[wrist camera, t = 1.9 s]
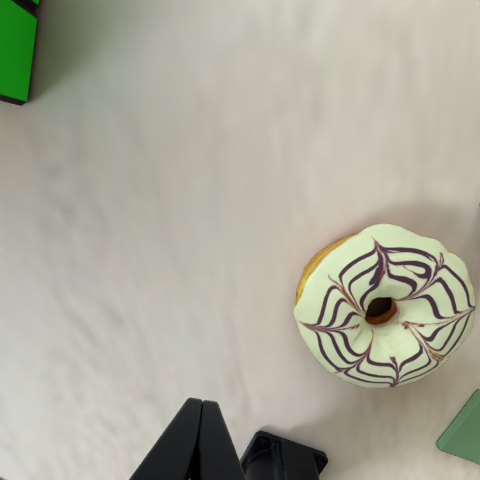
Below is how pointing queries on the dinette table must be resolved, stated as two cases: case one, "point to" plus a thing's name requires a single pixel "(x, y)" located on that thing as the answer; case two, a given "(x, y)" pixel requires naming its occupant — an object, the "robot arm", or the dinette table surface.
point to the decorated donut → (399, 315)
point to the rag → (464, 432)
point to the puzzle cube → (16, 48)
